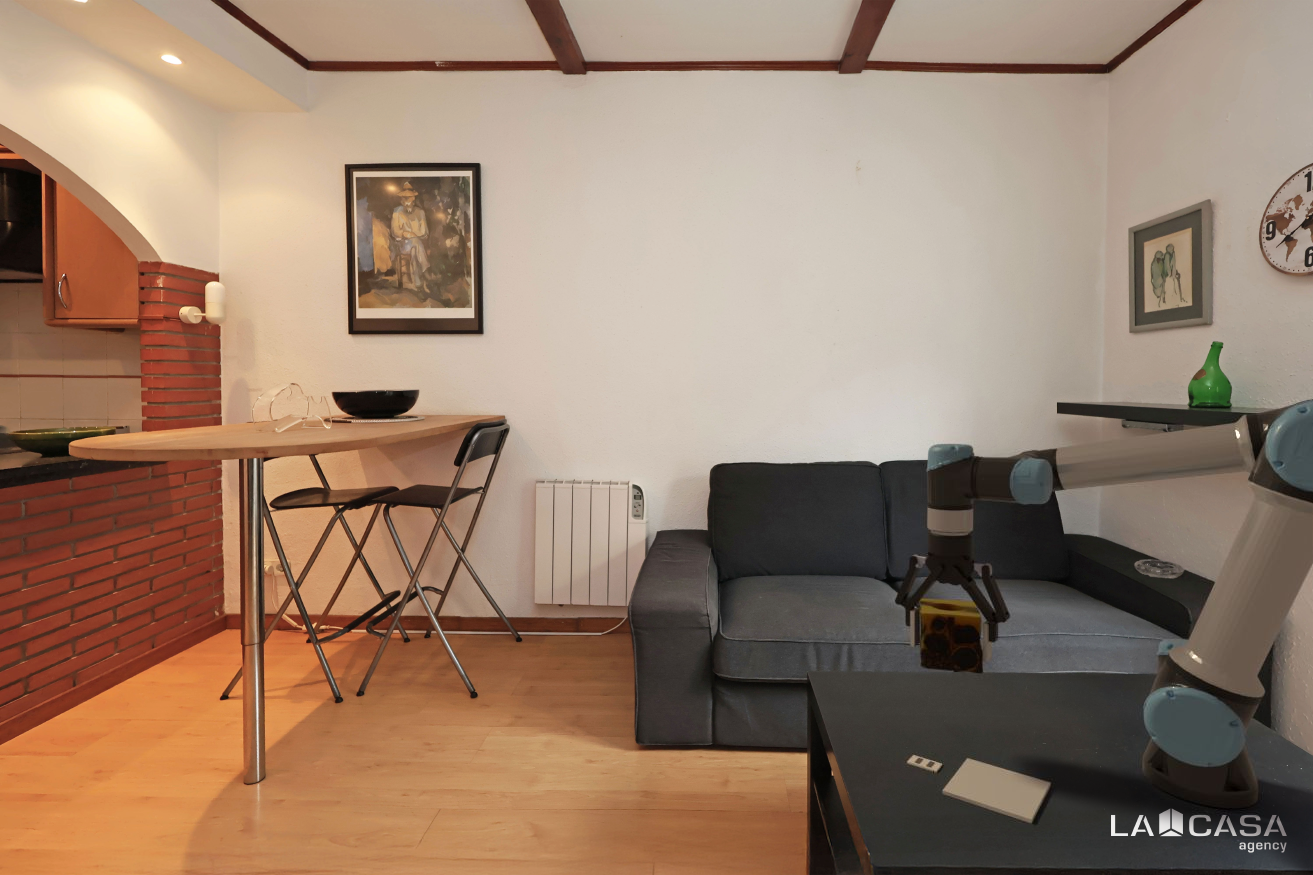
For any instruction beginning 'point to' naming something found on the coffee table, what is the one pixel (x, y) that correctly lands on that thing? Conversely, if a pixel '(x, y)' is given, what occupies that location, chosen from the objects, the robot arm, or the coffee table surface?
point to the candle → (950, 635)
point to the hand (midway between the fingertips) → (950, 651)
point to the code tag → (924, 763)
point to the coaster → (998, 789)
